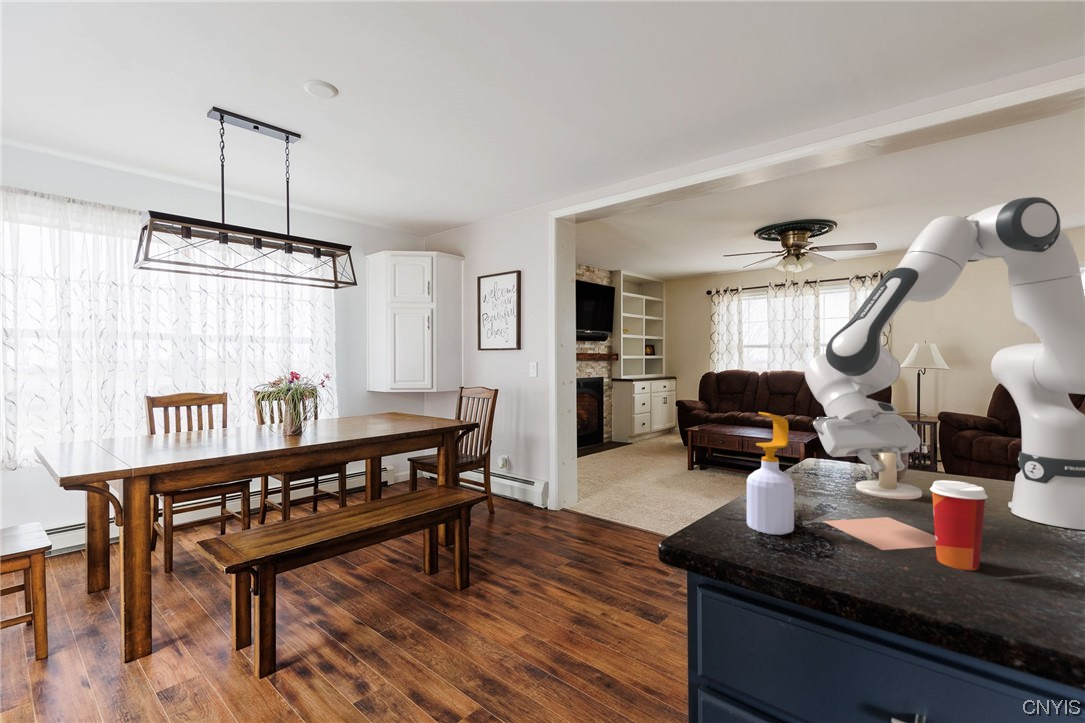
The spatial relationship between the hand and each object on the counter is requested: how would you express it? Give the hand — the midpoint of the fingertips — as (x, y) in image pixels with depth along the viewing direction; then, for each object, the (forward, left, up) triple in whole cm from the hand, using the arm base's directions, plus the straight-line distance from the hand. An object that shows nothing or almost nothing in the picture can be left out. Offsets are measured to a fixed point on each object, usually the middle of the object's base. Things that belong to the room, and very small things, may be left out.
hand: (890, 469), depth 100 cm
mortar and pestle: (-22, -25, -13) cm, 35 cm away
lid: (0, -1, -4) cm, 4 cm away
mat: (0, -1, -13) cm, 13 cm away
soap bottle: (+21, -8, -13) cm, 26 cm away
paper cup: (0, +14, -13) cm, 20 cm away
